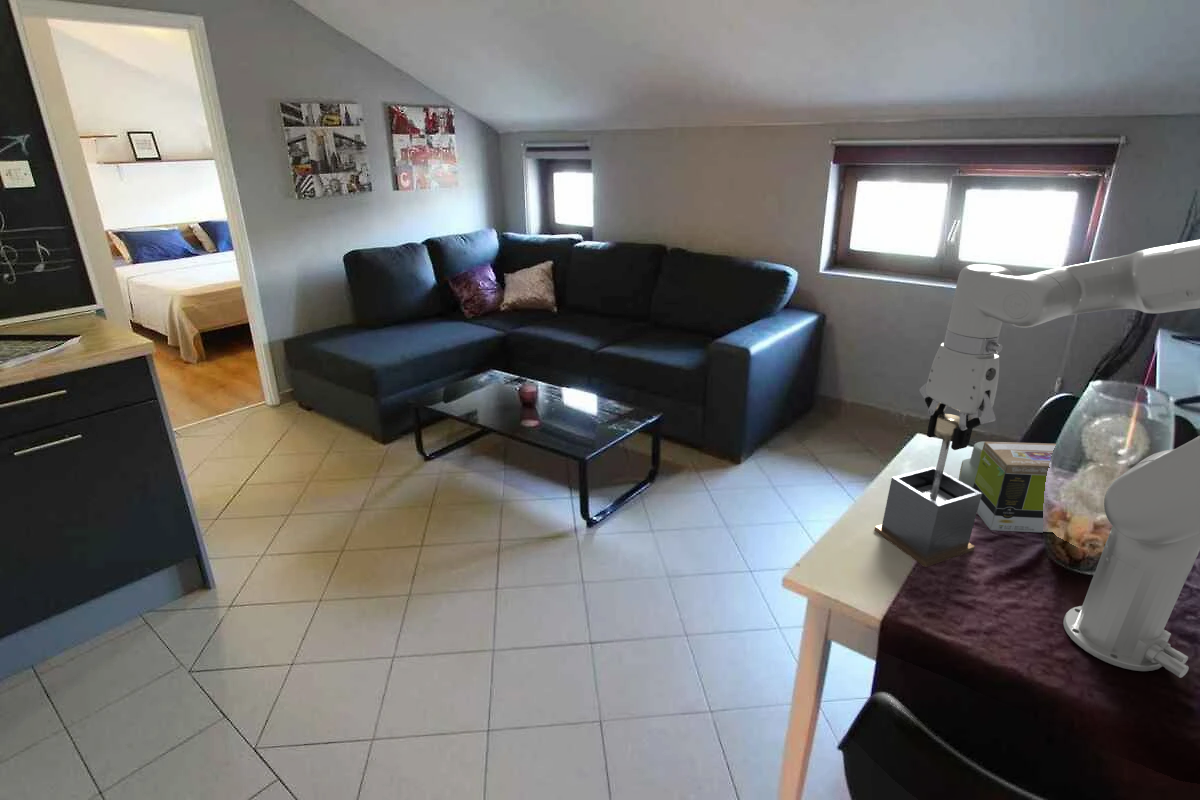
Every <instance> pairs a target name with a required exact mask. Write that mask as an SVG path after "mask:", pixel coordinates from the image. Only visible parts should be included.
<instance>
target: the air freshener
mask: <svg viewBox="0 0 1200 800" xmlns="http://www.w3.org/2000/svg"><path fill="white" fill-rule="evenodd" d="M984 442H985V441H978V442H975V443H974V445H973V448H972V453H971V456H970V458H966V459H963V460H962V462H961V465H960V469H959V475H958V480H959V481H961V482H963V483H964V484H966V485H968V486H970V487H972V488H973V486H974V482H975V478H976V474H977V471H978V466H979V462H980V458H981V454H982V450H983V446H984Z"/></svg>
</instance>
